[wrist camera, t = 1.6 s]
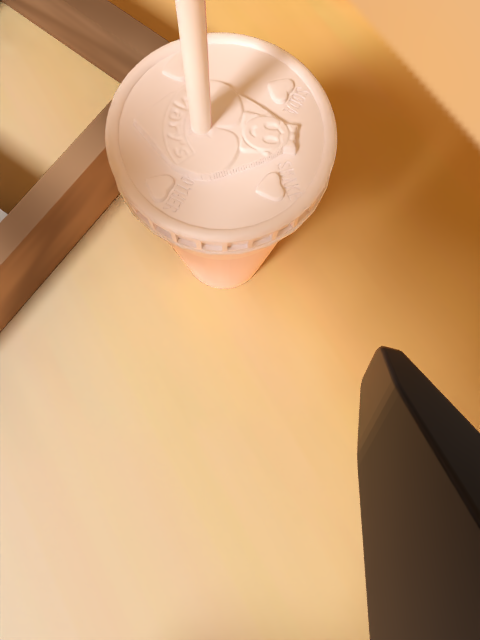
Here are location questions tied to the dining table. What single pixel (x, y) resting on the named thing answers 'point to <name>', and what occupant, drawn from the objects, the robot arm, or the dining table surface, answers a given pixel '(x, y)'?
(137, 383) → the dining table surface
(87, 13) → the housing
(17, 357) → the dining table surface
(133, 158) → the smoothie
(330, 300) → the dining table surface
